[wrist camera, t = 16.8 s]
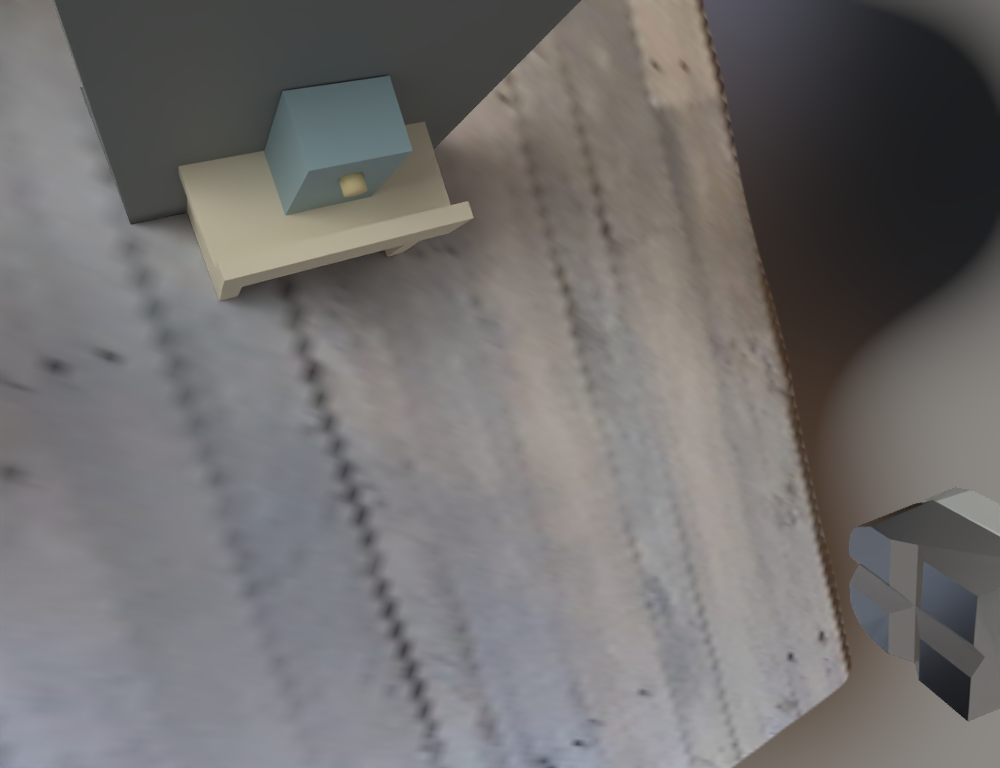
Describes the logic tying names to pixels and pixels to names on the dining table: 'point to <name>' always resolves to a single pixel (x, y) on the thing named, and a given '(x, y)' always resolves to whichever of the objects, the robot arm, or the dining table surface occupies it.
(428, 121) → the wall board
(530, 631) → the dining table surface
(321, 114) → the small cabinet
